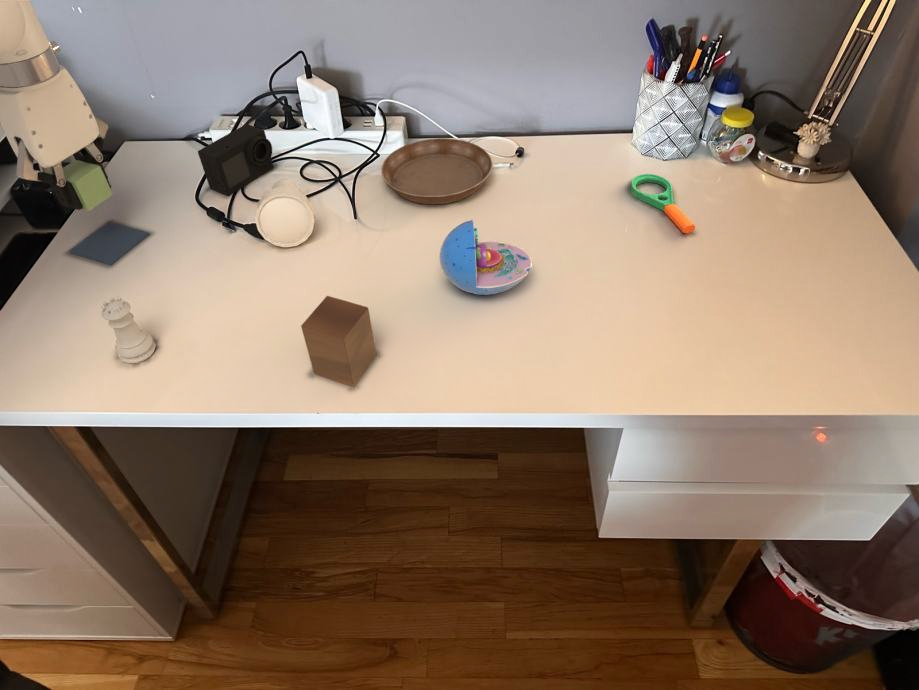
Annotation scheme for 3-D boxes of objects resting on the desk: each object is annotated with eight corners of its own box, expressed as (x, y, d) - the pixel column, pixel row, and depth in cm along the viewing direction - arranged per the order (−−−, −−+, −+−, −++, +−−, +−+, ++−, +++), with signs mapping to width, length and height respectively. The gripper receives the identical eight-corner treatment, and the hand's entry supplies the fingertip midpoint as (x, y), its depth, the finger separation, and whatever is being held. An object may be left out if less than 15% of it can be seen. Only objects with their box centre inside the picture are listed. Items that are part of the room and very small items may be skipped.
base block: (354, 387, 78) (343, 339, 72) (313, 374, 80) (300, 325, 74) (376, 356, 81) (368, 307, 76) (337, 343, 83) (327, 295, 77)
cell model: (534, 307, 87) (538, 247, 80) (442, 312, 87) (438, 252, 80) (526, 259, 94) (529, 201, 87) (440, 263, 94) (437, 205, 87)
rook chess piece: (111, 358, 82) (83, 310, 77) (139, 335, 85) (114, 287, 80) (137, 370, 81) (111, 322, 75) (164, 346, 84) (141, 298, 78)
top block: (89, 211, 92) (74, 182, 89) (65, 204, 93) (49, 175, 90) (113, 194, 95) (100, 165, 91) (89, 187, 96) (75, 159, 93)
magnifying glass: (623, 184, 107) (624, 174, 105) (658, 177, 108) (660, 168, 106) (668, 238, 96) (670, 228, 95) (706, 231, 97) (709, 221, 96)
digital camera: (232, 199, 107) (220, 159, 102) (209, 189, 109) (196, 150, 104) (279, 170, 113) (269, 131, 108) (256, 161, 115) (246, 122, 110)
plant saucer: (361, 194, 107) (358, 177, 104) (420, 144, 117) (418, 128, 115) (458, 224, 100) (457, 207, 98) (511, 168, 111) (511, 151, 109)
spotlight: (256, 248, 95) (253, 193, 91) (260, 217, 104) (258, 166, 100) (314, 249, 97) (314, 196, 93) (313, 219, 106) (313, 169, 102)
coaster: (111, 266, 95) (110, 263, 95) (69, 253, 98) (68, 251, 98) (150, 234, 101) (149, 232, 100) (109, 223, 103) (108, 221, 103)
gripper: (55, 36, 87) (112, 162, 100) (-61, 91, 76) (19, 224, 89) (99, 44, 85) (151, 172, 98) (-15, 102, 74) (60, 237, 87)
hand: (87, 195), depth 93 cm, fingers closed on top block, 4 cm apart
